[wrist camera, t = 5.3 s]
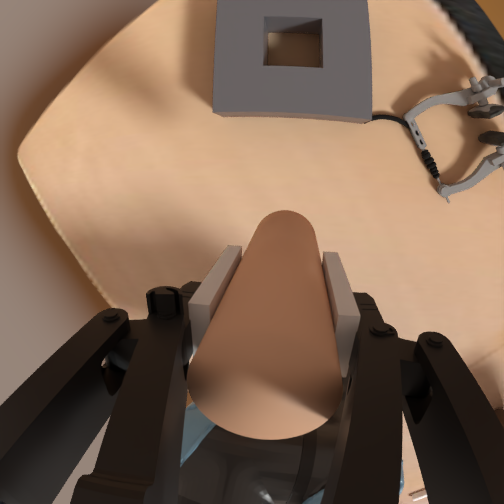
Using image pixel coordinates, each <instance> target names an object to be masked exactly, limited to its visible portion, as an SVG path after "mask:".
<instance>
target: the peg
mask: <svg viewBox="0 0 504 504" xmlns="http://www.w3.org/2000/svg"><path fill="white" fill-rule="evenodd" d="M187 386H188V390H189V393H190V396H191V398H192V400H193V402H194V403H195V405H196V406H197V407H198V409H199V410H200V411H201V412H202V413H203V414H204V415H205V416H206V417H207V418H208V419H210V420H211V421H212V422H214V423H215V424H217V425H218V426H220V427H222V428H224V429H226V430H228V431H230V432H233V433H235V434H238V435H241V436H245V437H250V438H255V439H265V440H278V439H287V438H292V437H296V436H300V435H303V434H306V433H308V432H311V431H313V430H314V429H316V428H318V427H320V426H321V425H322V424H324V423H325V422H326V421H327V420H328V419H330V418H331V416H332V415H333V414H334V413H335V412H336V410H337V408H338V407H339V404H340V402H341V399H342V394H343V382H342V375H341V368H340V362H339V355H338V349H337V343H336V337H335V331H334V325H333V320H332V314H331V309H330V303H329V298H328V293H327V288H326V283H325V278H324V273H323V268H322V263H321V258H320V253H319V249H318V244H317V240H316V235H315V231H314V229H313V227H312V225H311V223H310V222H309V221H308V220H307V219H306V218H305V217H304V216H302V215H300V214H299V213H296V212H293V211H288V210H282V211H277V212H274V213H271V214H269V215H268V216H266V217H265V218H264V219H263V220H262V221H261V222H260V224H259V225H258V227H257V229H256V231H255V233H254V235H253V237H252V239H251V241H250V243H249V245H248V247H247V249H246V251H245V253H244V255H243V257H242V259H241V261H240V263H239V265H238V267H237V269H236V271H235V273H234V275H233V277H232V279H231V281H230V283H229V285H228V288H227V290H226V292H225V294H224V296H223V298H222V300H221V302H220V304H219V306H218V308H217V310H216V312H215V314H214V316H213V318H212V320H211V322H210V324H209V326H208V328H207V330H206V332H205V334H204V336H203V338H202V340H201V343H200V345H199V347H198V349H197V351H196V353H195V355H194V357H193V359H192V361H191V363H190V366H189V369H188V373H187Z"/></svg>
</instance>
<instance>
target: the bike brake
mask: <svg viewBox="0 0 504 504" xmlns="http://www.w3.org/2000/svg"><path fill="white" fill-rule="evenodd" d="M469 81H470V84H471V87H470V88H467V89H464V90H461V91H457V92H453V93H447V94H442V95H437V96H433V97H430V98H427V99H425V100H424V101H422V102H420V103H419V104H417V105H416V106H414V107H413V108H411V109H410V110H409V111H408V112H407V113H405V114H404V115H403V120H402V119H400V118H398V117H395V116H390V115H374V116H372V120H370V121H373V120H378V119H387V120H393V121H396V122H398V123H400V124H402V125H404V126H406V127H407V128H408V129H409V130H410V132H411V134H412V136H413V139H414V141H415V143H416V145H417V147H418V148H420V149H421V150H422V152H421V154H422V158H423V159H425V160H424V162H425V164H428V165H427V168H428V169H430V172H431V174H432V175H433V177H434V178H436V179H437V180H438V183H439V185H438V187H437V192H438V194H440V195H441V196H442V197H445V198H446V200H447V202H448V203H450V201H449V199H448V196H450V195H451V194H454V193H457V192H461V191H464V190H466V189H469V188H471V187H473V186H474V185H476V184H477V183H478V182H480V181H481V180H482V179H484V178H485V177H486V176H488V175H489V174H490V173H492V172H493V171H495V170H496V169H498V168H500V167H501V166H502V167H503V169H504V133H503V132H496V131H488V132H486V133H484V134H482V135H480V136H479V137H478V139H479V141H480V142H483V143H486V144H490V145H494V146H498V147H496V150H497V152H495V153H492V154H490V155H488V156H486V157H484V158H483V160H482V161H481V163H480V164H479V165H478V167H477V168H476V169H475V171H474V172H473V173H472V174H471V175H469V176H468V177H467V178H465V179H464V180H462V181H459V182H457V183H453V184H449V185H446V184H444V183H441V182H440V180H439V176H440V174H439V173H438V170H437V167H436V163H435V162H433V161H434V159H433V158H432V157H430V156H431V154H430V153H429V152H428V150H425V147H426V146H427V145H426V143H425V141H424V139H423V137H422V134H421V132H420V130H419V128H418V126H417V124H416V122H415V120H414V118H415V117H416V116H418V115H419V114H420V113H422V112H423V111H425V110H426V109H428V108H430V107H432V106H434V105H438V104H450V105H459V106H466V105H468V104H474V103H476V102H478V104H479V105H478V106H476V107H474V108H472V109H471V110H469V111H468V115H469V116H471V117H473V118H485V119H491V118H493V117H495V116H497V115H500V114H501V113H502V112H503V111H504V107H503V106H502V105H497V104H488V101H487V98H488V97H490V96H492V95H494V94H496V91H497V89H498V87H504V78H501V79H495V78H494V77H492V76H485V77H482V78H481V80H480V81H479V82H478V81H477V80H476V78H475V77H472V78H470V79H469ZM370 121H368V122H370ZM411 122H412V124H413V126H412V125H411ZM365 123H367V122H365ZM365 123H364V124H365ZM414 123H415V124H414ZM418 132H419V133H418Z"/></svg>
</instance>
